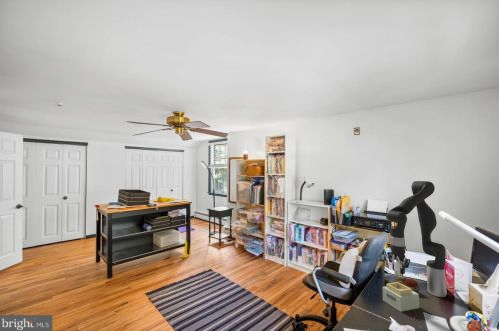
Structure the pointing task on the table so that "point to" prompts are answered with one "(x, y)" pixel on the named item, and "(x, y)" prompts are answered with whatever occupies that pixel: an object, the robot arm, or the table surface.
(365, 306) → the table surface
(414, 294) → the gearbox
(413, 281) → the figurine
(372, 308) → the table surface
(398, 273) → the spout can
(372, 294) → the table surface
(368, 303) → the table surface
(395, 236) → the robot arm
